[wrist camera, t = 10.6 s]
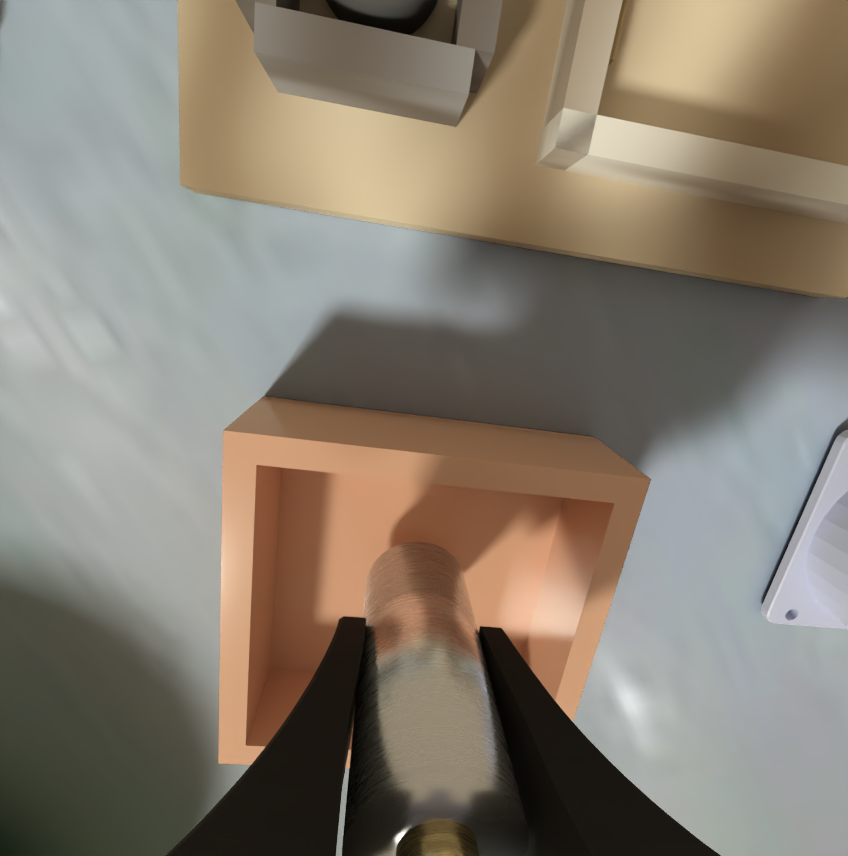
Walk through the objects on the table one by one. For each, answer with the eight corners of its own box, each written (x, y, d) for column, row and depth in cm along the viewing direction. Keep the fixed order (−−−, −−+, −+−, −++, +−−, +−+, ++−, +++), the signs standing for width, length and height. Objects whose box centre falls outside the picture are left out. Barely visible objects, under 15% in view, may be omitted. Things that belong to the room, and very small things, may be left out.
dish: (594, 436, 15) (650, 479, 12) (526, 687, 18) (555, 775, 15) (263, 396, 14) (223, 430, 11) (252, 671, 17) (218, 763, 14)
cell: (476, 552, 14) (574, 850, 7) (448, 633, 15) (506, 980, 7) (378, 532, 14) (363, 827, 6) (356, 616, 15) (316, 968, 7)
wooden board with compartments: (977, -108, 11) (1175, -242, 8) (818, 297, 14) (926, 300, 11) (195, -335, 9) (107, -610, 6) (196, 192, 12) (137, 164, 9)
